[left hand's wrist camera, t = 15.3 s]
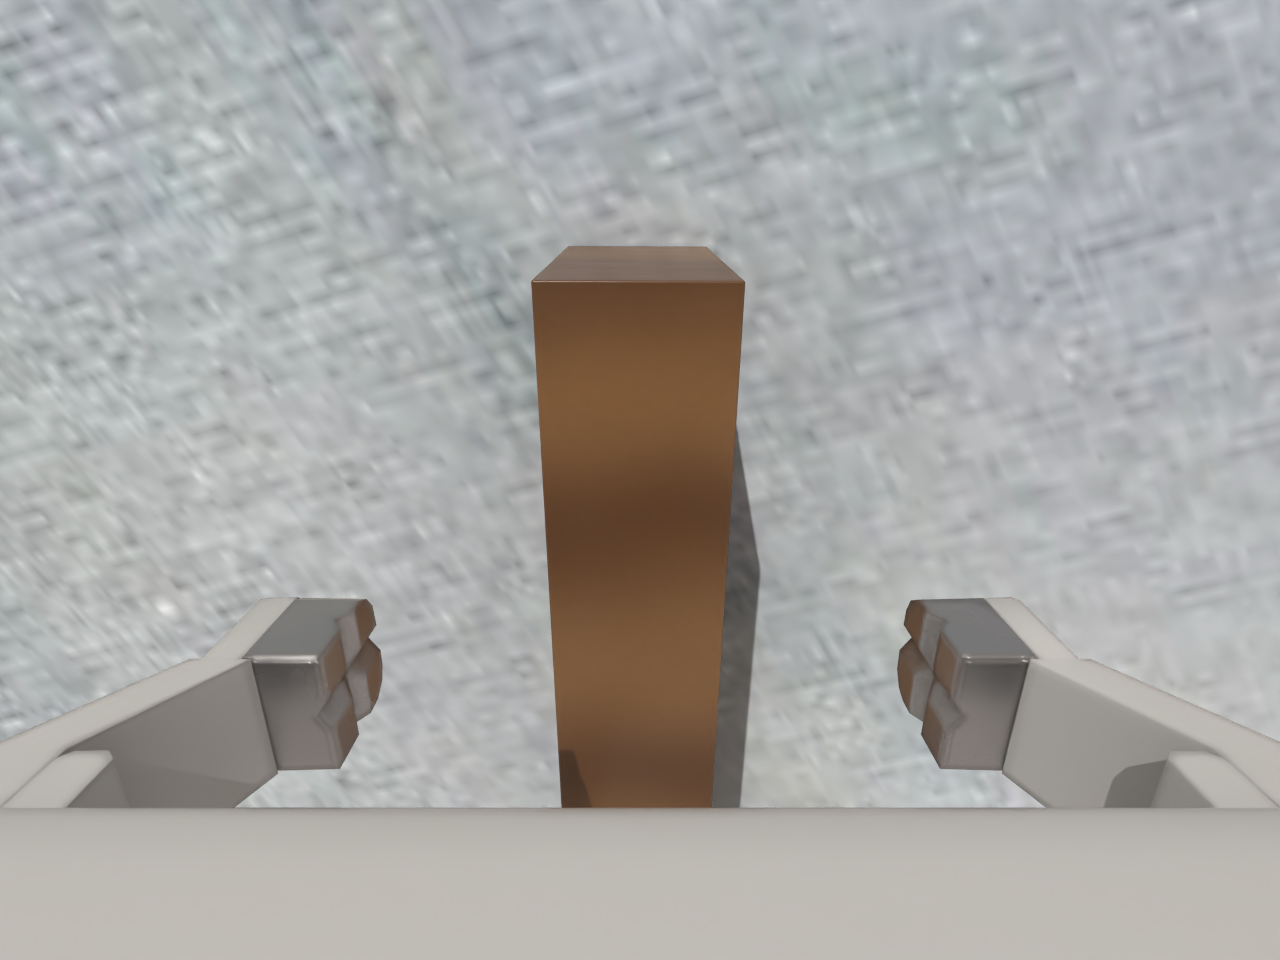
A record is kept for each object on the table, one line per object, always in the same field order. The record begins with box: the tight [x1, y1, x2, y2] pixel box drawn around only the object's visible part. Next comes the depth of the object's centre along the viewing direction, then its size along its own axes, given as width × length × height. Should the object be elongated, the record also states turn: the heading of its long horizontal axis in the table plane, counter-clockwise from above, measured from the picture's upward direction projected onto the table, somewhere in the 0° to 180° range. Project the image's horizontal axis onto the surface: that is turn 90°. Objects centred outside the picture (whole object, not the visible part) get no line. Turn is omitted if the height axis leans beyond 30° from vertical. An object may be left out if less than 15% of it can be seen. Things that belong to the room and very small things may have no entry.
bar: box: [531, 246, 745, 808], centre depth 24 cm, size 28×5×9 cm, turn 0°
